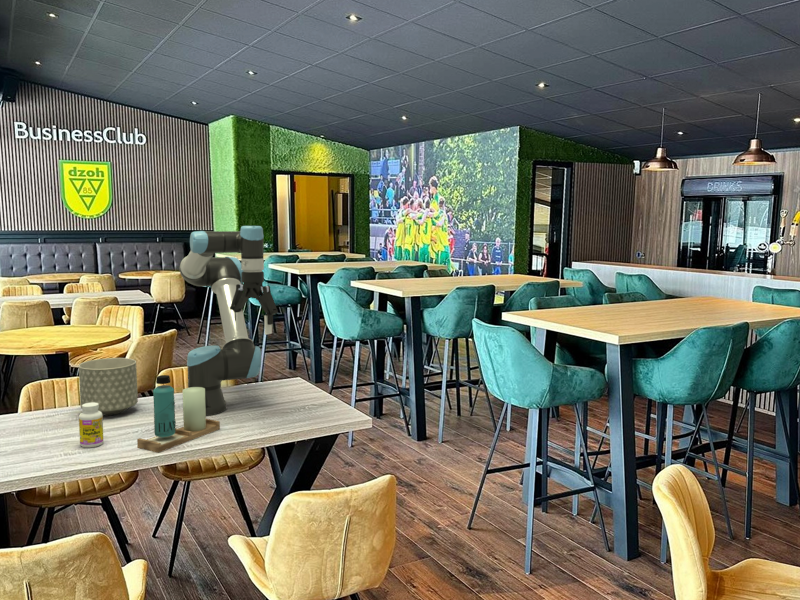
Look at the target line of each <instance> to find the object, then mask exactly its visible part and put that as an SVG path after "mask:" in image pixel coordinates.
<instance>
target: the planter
mask: <svg viewBox="0 0 800 600" xmlns="http://www.w3.org/2000/svg"><path fill="white" fill-rule="evenodd" d="M137 373H138V372H137V361H136V359H133V358H128V357H107V358H97V359H90V360H86V361H83V362H81V363H79V365H78V381H79V383H78V385H79V396H80V397H79V402H80V403H79V404H80V409H81V410H82V405H83V404H85V403H92V402H95V403H98V404H99V408H98V411H101V412H102V416H112V415H113V414H114V415H118V414H120V413H123V412H124V411H126V410H128V409H129V408H131V407H134V406H136V405H137V404H138V401H139V398H138V377H137V375H138V374H137ZM114 415H113V416H114Z"/></svg>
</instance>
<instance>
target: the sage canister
mask: <svg viewBox="0 0 800 600" xmlns="http://www.w3.org/2000/svg"><path fill="white" fill-rule="evenodd" d="M182 411H183V412H182V415H183V427H184V430H187V431H191V432H194V431H201V430H204V429H205V428H206V419H207V417H206V416H207V415H206V409H205V388H202V387H190V388H188V387H187V388H183V389H182Z"/></svg>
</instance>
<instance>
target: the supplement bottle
mask: <svg viewBox="0 0 800 600" xmlns="http://www.w3.org/2000/svg"><path fill="white" fill-rule="evenodd" d="M98 408H99V404H98V403H95V402H92V403H85V404H83V405H82V409H81V410H82V412H81V413H80V414H79V416H78V427H79V429H78V430H79V431H78V432H79V445H80V446H81V447H83V448H97V447H98V446H101V445H103V443H104V420H103V419H104V415H102V412H101V411H98Z"/></svg>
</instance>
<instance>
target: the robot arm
mask: <svg viewBox="0 0 800 600" xmlns="http://www.w3.org/2000/svg"><path fill="white" fill-rule="evenodd" d="M264 237H265V236H264V228H263V227H262V226H261V225H242V226H241V227H240V230H235V231H234V230H231V231H229V230H227V231H225V230H224V231H222V230H221V231H219V230H218V231H215V230H214V231H213V230H212V231H211V230H198V231H197V230H196V231H192V232H191V233H190V237H189V247H190V248H189V249H190V251H189V253H188V255H187V256H185V257H184V258H182V260H181V261H180V263H179V270H178V271H179V273H180V276H181V277H182V279H184V281H186V282H187V283H188V284H191V285H193V286H196V287H211V291H212V292H213V294H216V297H217V304H218V308H219V314H220V315H219V316H220V319H221V325H222V329H223V330H222V331H223V335H224V341H225V343H224V344H223V345H222V349H221V347H220V346H219V345H205V346H200V347H196V348H194V349H191V350H190V351H189V352H188V353H187V358H186V360H187V361H186V366H187V388H190V387H202V388H205V409H206V416H211V415H212V416H213V415H217V414H220V413H222V412H223V413H224V412H225V411H226V410H227V401H226V400H225V397H224V394H223V390H222V381H230V380H231V381H232V380H243V379H244V380H245V379H250V378H255V377H257V376H258V375H259V373H260V370H261V367H262V366H261V365H262V350H261V348H260V346H257V345H255V344H254V341H253V340H252V339H251V338H249V336H248V335H249V334H248V330H247V325H246V321H245V316H244V312H243V309H244V307H245V305H246V303H247V302H248V300H249V299H255V300H256V301H258V303H259V305H260V306H261V308H262V309H263V312H264V313H265V315H263V317H264V335H271V334H273V324H274V315H275V314H278V313H279V311H278V308H277V306H276V303H275V300H274V298H273V295H272V291H271V286H270V285H263V283H264V281H265V273H264V270H265V266H264V265H265V263H264V262H265V261H264ZM227 253H228V254H229V253H230V254H232V253H233V254H239V253H240V255H241V256H240V257H241V258H240V260H239V258H238V257H232V256H224V257H219V256H218V257H217V256H215V257H213V256H214V254H227Z"/></svg>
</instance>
